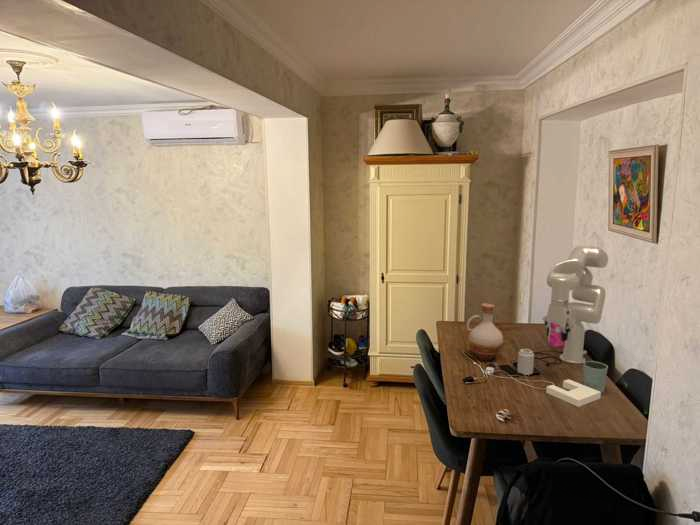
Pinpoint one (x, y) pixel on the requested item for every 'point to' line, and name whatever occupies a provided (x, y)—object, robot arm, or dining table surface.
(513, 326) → the dining table surface
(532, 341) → the dining table surface
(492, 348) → the jug
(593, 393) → the notched board
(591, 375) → the grey-green cup
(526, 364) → the can
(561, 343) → the supplement box
